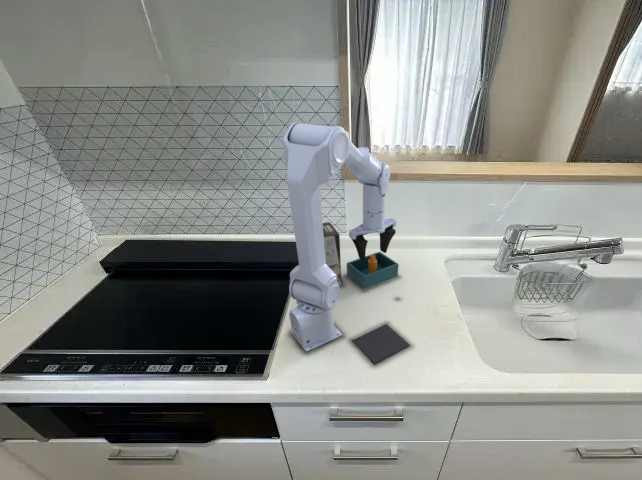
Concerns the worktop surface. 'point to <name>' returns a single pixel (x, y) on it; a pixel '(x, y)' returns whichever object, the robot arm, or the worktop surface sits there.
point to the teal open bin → (383, 273)
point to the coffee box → (332, 249)
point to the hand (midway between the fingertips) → (372, 255)
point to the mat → (380, 343)
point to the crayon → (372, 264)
